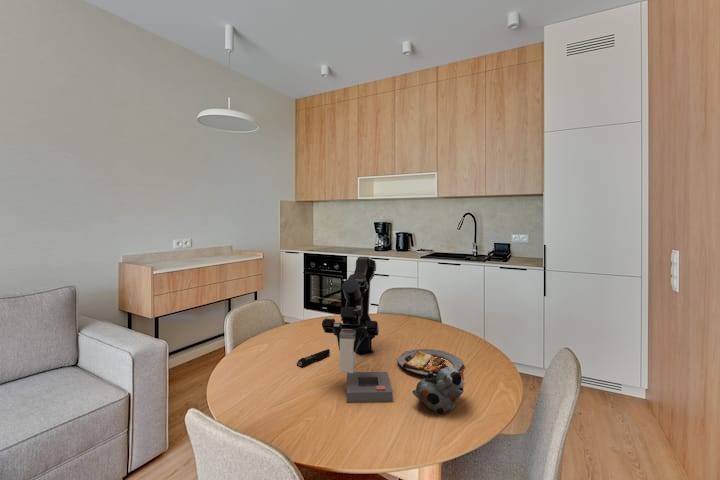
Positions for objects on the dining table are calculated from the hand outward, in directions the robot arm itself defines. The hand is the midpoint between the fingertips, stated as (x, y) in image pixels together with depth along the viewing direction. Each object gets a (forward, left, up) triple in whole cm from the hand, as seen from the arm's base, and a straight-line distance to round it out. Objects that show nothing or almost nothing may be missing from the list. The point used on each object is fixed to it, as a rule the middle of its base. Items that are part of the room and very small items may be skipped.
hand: (347, 351), depth 110 cm
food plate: (-37, -4, -14) cm, 39 cm away
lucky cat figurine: (-22, +19, -14) cm, 32 cm away
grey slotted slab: (-7, +2, -13) cm, 15 cm away
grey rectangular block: (-1, -1, -7) cm, 7 cm away
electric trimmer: (+1, -28, -14) cm, 32 cm away
